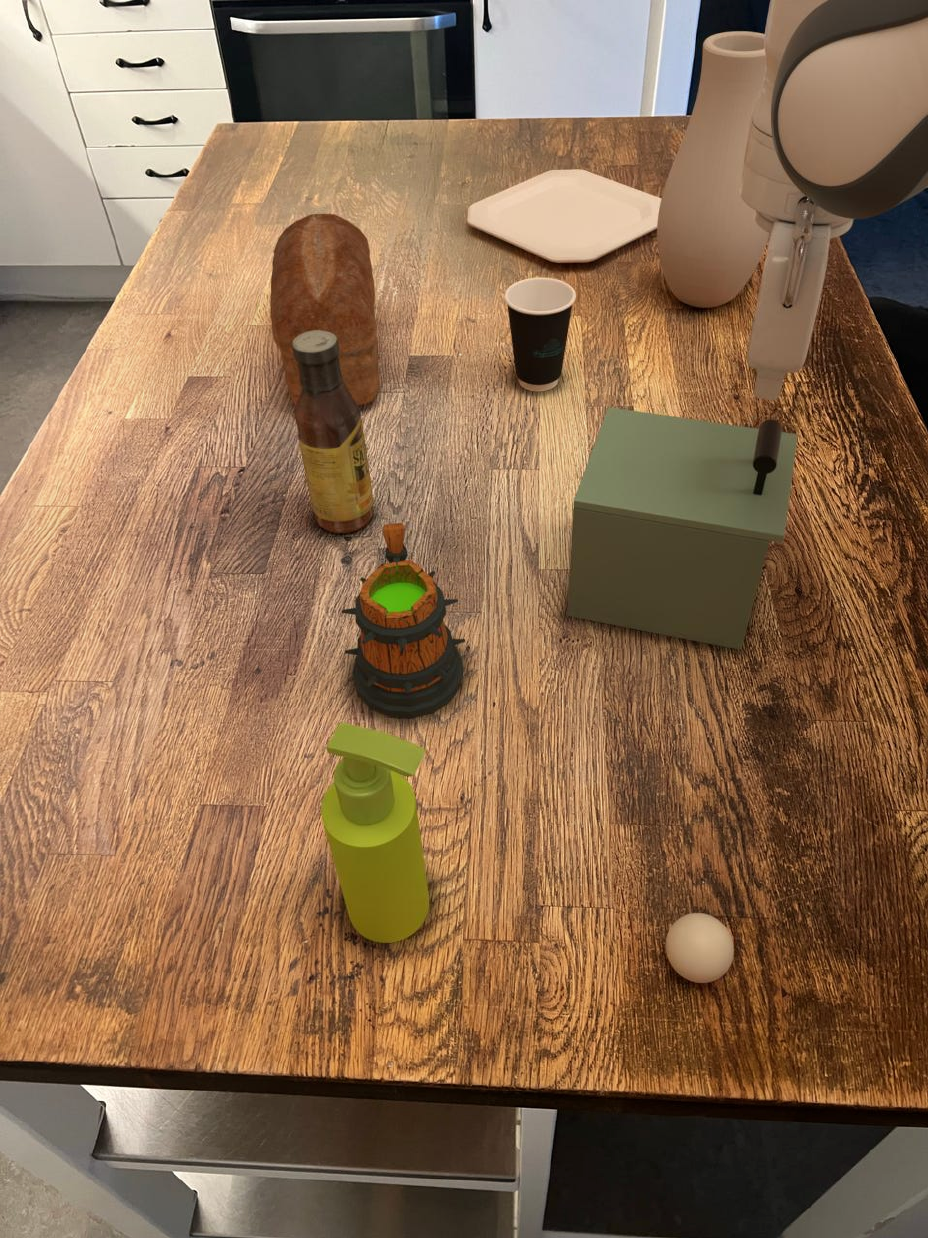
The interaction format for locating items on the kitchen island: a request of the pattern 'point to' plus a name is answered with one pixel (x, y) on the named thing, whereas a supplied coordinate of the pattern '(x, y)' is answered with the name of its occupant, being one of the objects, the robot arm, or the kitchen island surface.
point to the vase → (714, 180)
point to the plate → (567, 215)
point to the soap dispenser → (376, 832)
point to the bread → (326, 298)
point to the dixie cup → (539, 329)
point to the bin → (663, 577)
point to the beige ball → (699, 948)
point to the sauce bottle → (331, 437)
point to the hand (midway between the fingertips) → (772, 359)
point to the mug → (403, 637)
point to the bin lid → (691, 473)
